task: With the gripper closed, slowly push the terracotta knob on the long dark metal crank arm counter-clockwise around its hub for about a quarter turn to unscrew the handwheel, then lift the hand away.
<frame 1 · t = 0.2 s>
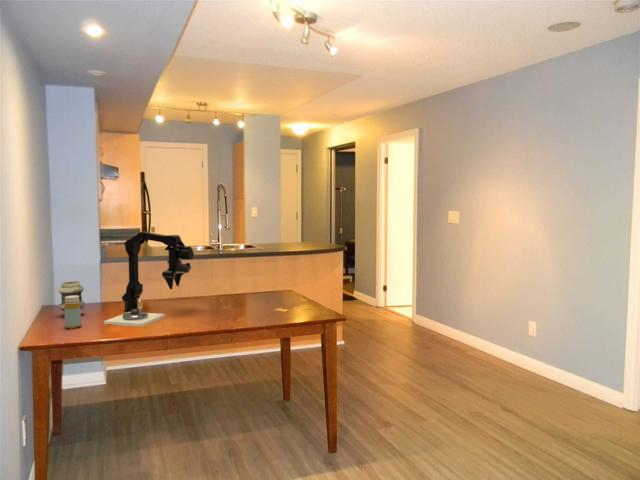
hand: (174, 287, 266), 14 cm above the table, tool pointing down, fingers open, 9 cm apart
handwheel: (136, 309, 255), point 5 cm above the table, hinge at 0.0°
bottle: (73, 327, 239), on the table
white square plate: (135, 320, 253), on the table
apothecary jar: (72, 316, 262), on the table
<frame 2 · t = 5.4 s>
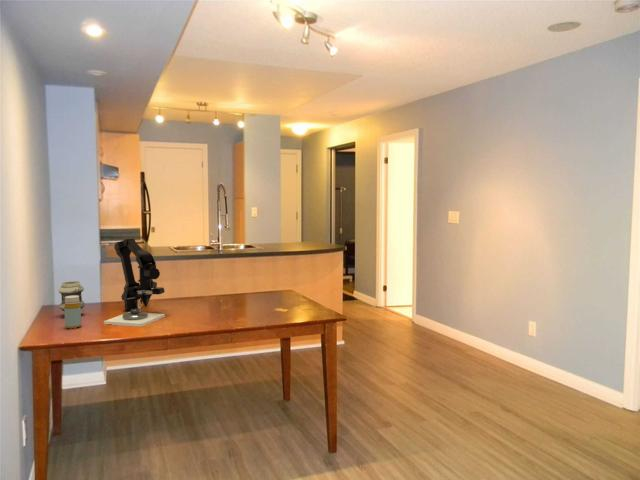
hand: (146, 306, 263), 5 cm above the table, tool pointing down, fingers closed
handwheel: (136, 309, 255), point 5 cm above the table, hinge at 0.0°, touching gripper
everything else where it was.
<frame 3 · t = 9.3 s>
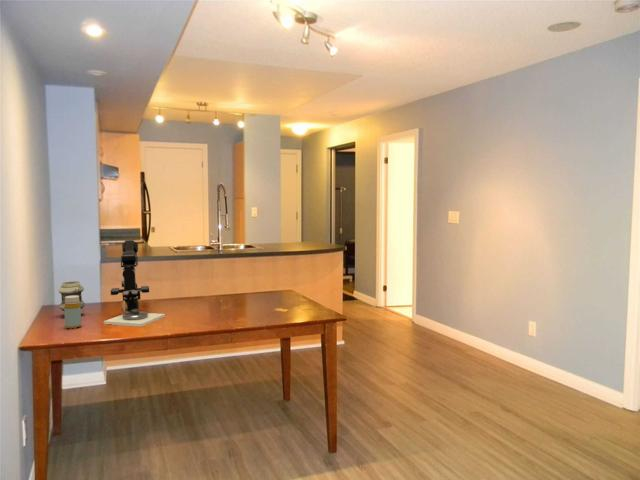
hand: (131, 306, 261), 5 cm above the table, tool pointing down, fingers closed
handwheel: (132, 309, 254), point 5 cm above the table, hinge at 41.5°, touching gripper
everything else where it was.
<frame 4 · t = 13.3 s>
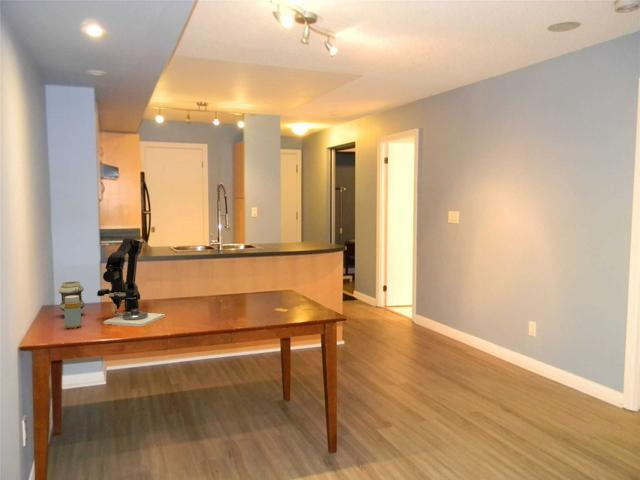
hand: (118, 309, 256), 5 cm above the table, tool pointing down, fingers closed
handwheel: (129, 310, 253), point 5 cm above the table, hinge at 79.1°, touching gripper
everything else where it was.
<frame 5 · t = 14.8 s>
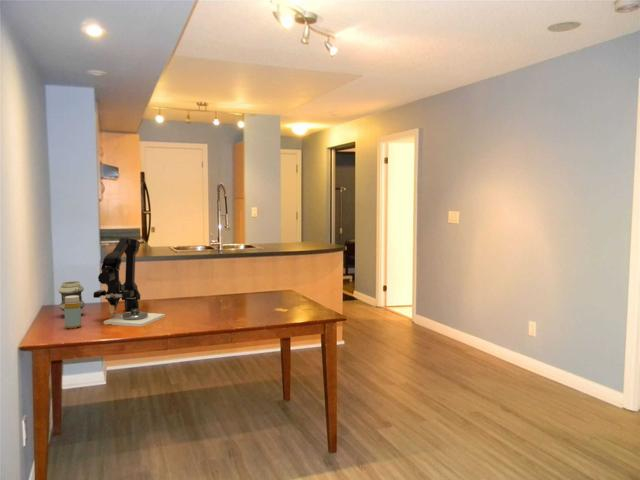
hand: (114, 310, 253), 5 cm above the table, tool pointing down, fingers closed, pressing on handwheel
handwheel: (128, 310, 252), point 5 cm above the table, hinge at 97.4°, touching gripper
everything else where it was.
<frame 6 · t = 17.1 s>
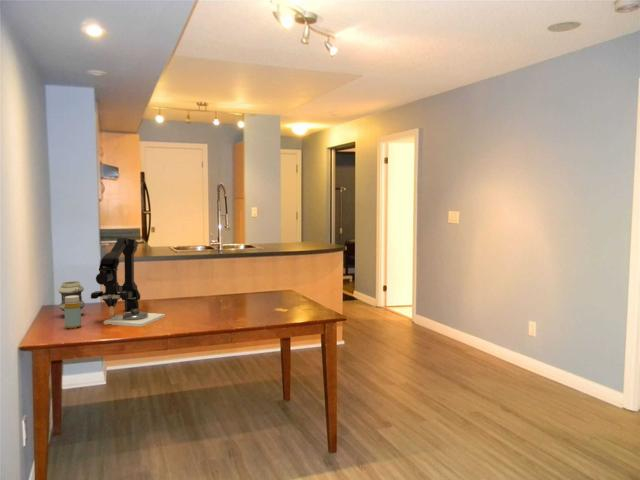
hand: (112, 311, 250), 5 cm above the table, tool pointing down, fingers closed
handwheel: (128, 311, 251), point 5 cm above the table, hinge at 115.9°
everything else where it was.
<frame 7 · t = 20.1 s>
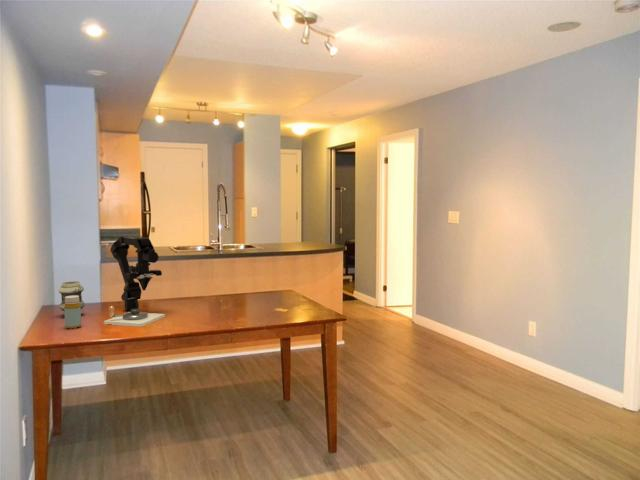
hand: (144, 290, 265), 13 cm above the table, tool pointing down, fingers closed
nothing on the table moved.
at the end: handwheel at +116° (first picture: +0°); bottle moved 0.2 cm from its start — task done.
